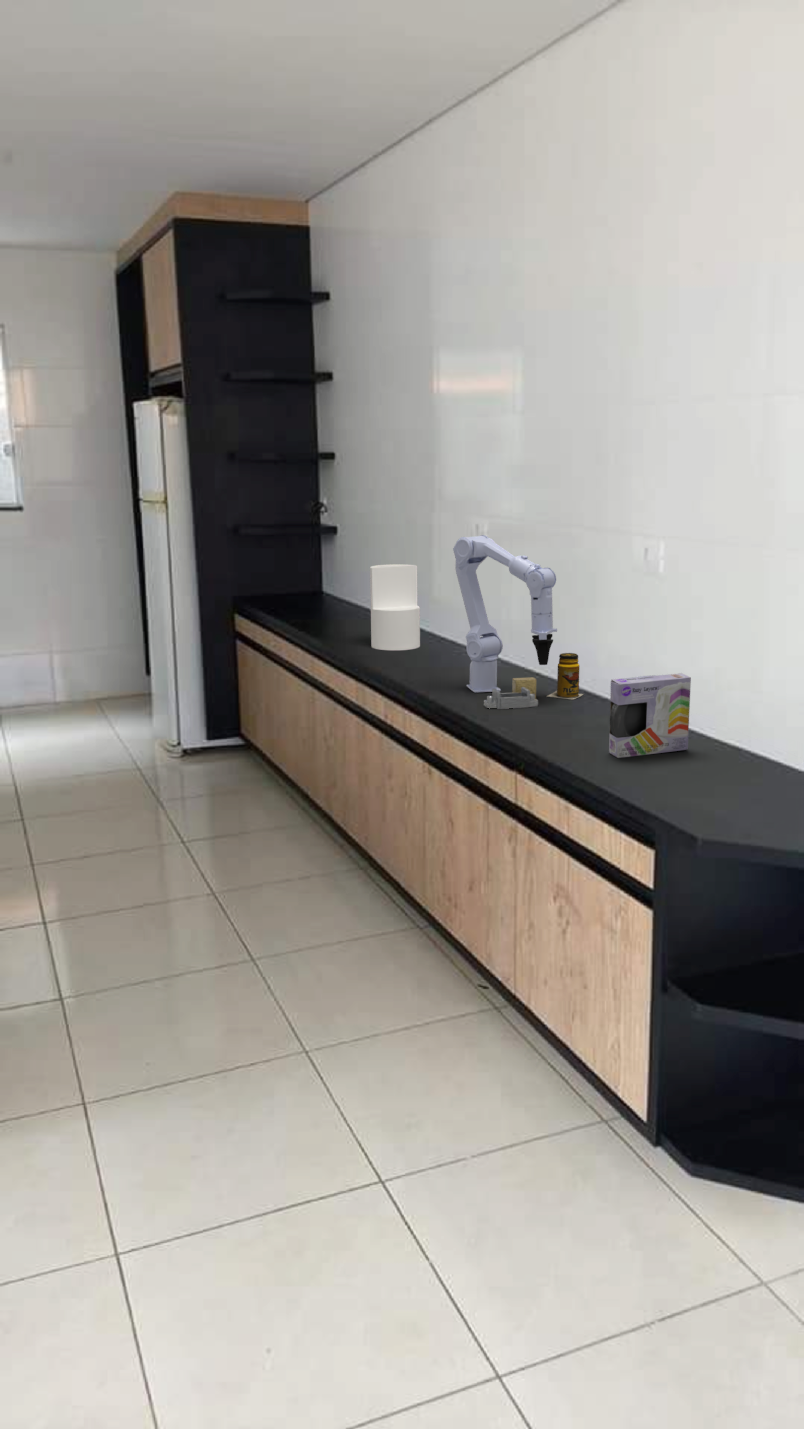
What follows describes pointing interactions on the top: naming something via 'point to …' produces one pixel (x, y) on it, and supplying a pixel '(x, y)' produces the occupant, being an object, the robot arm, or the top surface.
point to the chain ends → (511, 699)
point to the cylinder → (394, 607)
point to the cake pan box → (649, 714)
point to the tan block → (524, 684)
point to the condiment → (567, 677)
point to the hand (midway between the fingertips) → (543, 662)
